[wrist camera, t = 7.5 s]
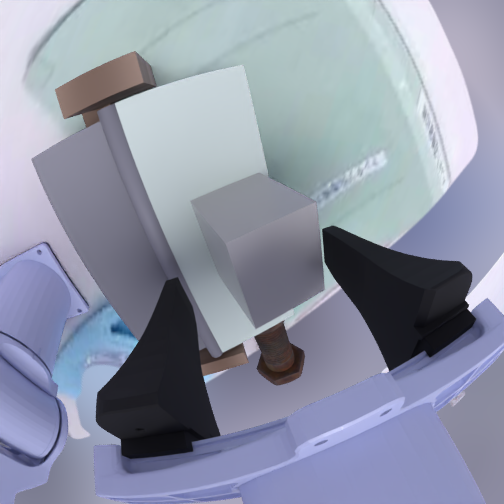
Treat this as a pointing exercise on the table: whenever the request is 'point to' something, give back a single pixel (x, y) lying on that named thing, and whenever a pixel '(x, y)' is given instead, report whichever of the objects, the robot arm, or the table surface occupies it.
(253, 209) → the grey cube
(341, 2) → the table surface
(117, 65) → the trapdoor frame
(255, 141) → the trapdoor
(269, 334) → the bolt
